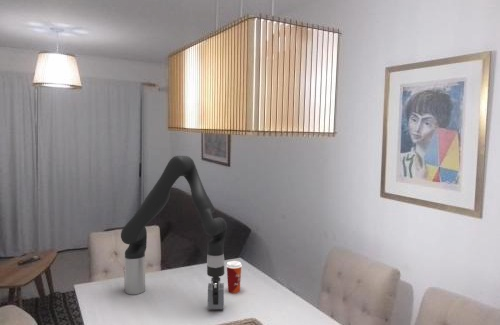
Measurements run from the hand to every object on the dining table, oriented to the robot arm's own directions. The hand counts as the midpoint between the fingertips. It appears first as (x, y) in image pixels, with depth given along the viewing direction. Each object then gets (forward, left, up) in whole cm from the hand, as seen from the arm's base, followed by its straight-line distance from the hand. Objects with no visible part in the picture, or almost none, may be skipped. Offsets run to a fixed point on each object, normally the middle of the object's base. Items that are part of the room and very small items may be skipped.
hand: (215, 300), depth 173 cm
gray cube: (0, 0, -2) cm, 2 cm away
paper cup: (-5, +19, -4) cm, 20 cm away
